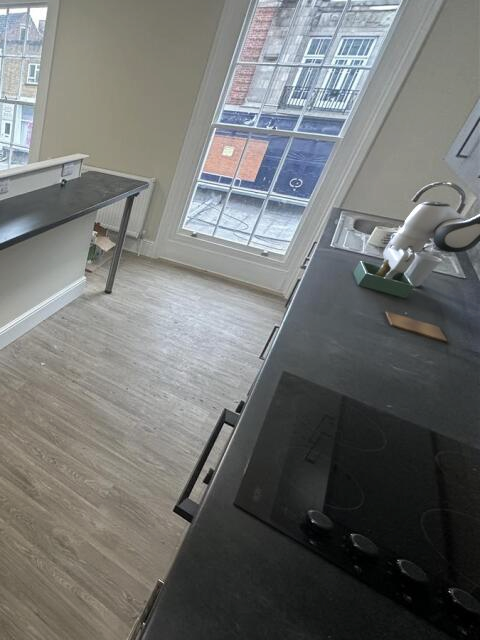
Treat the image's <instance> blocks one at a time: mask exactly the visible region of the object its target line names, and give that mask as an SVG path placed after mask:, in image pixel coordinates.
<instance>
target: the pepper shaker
mask: <svg viewBox="0 0 480 640" xmlns="http://www.w3.org/2000/svg"><path fill="white" fill-rule="evenodd" d="M384 260H385V259H384ZM384 260H383V261H382V265H383V267H382V268H381V269H380V270H379V271H378V272H377V273H376V274H375V275H377V276H380V277H384V278H385V275H386V274H387V273H388V272H389V271H390V269H391V267H390V266H389V264H388V262H389V260H388V259H387V260H385V261H384ZM392 278H393V277H392Z"/></svg>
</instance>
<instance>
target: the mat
mask: <svg viewBox="0 0 480 640" xmlns="http://www.w3.org/2000/svg"><path fill="white" fill-rule="evenodd" d="M384 313H385V315H386V318H387V321H388V322H389V324H390V326H392V327H395V328H398V329H401V330H405V331H407V332H411V333H415V334H418V335H421V336H425V337H428V338H431V339H435V340H436V341H437V340H438V341H441V342H444V343H447V342H448V339H447V338H446V335H444V333H443V331H442V330H441V328H440V326H438V325H434V324H431V323H428V322H424V321H420V320H418V319H414V318H410V317H407V316H404V315H401V314H396V313H393V312H390V311H385V312H384Z"/></svg>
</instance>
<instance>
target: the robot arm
mask: <svg viewBox="0 0 480 640" xmlns="http://www.w3.org/2000/svg"><path fill="white" fill-rule="evenodd" d="M430 239H433V244H434V245H435V247H436V248H438V249H439V250H442V251H444V252H447V253H462V252H466V251H469V250H471V249H473V248H475V247H476V246H477V245H478V244H479V243H480V213H479V214H477V215H476V216H474V217H472V218H469V217H466V216H464V215H462V214H460V213H459V212H458V211H456V210H455V209H454V208H453V207H452V206H451V205H450V204H448V203H446V202H441V201H425V202H421V203H419V204H418V205H417V206H416V207H414V209H413V210H412V211H411V212H410V214H409V215H408V216H407V217H406V219H405V220H404V223H403V225H402V227H401V228H399V230H397V232H395V233H392V234H391V236H390V240H389V241H388V243H387V244H386V247H385V248H384V249H383V252H382V255H383V257H384V259H383V262H384V261H385V260H387V259H388V260H389V262H388V264H389V266H390V267H391V269H390V271H389V272H388V273H387V274H386V275H385V278H388V279H392V277H393V276H394V275H396V274H397V273H405V272H406V271H407V270H408V268H409V267H410V265H411V264H412V262H413V261H414V259H415V253H417V252H418V253H420V252H421V251H422V250H423V248H424V247H425V246H426V244H427V243H428V242H429V241H430ZM380 266H381V268H382V267H383V264H381V265H380Z"/></svg>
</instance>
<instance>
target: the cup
mask: <svg viewBox="0 0 480 640" xmlns="http://www.w3.org/2000/svg"><path fill="white" fill-rule="evenodd" d="M414 254H415V259H414V261H413V262H412V264H411V265H410V267H409V268H408V270H407V271H406V273H407V275H408V276H409V278H410V280H411V281H412V283H413V284H414V286H415V287H420V286H421V284H422V283H423V282H424V281H425V280H426V279H427V278H428V277H429V276H430V274H431V273H432V272H434V270H435V269H436V268H438V266H439V265H440V264H441V263H442V262H443V259H441V258H440V257H437V256H435V255H432V254H429V253H425V252H414Z"/></svg>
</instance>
